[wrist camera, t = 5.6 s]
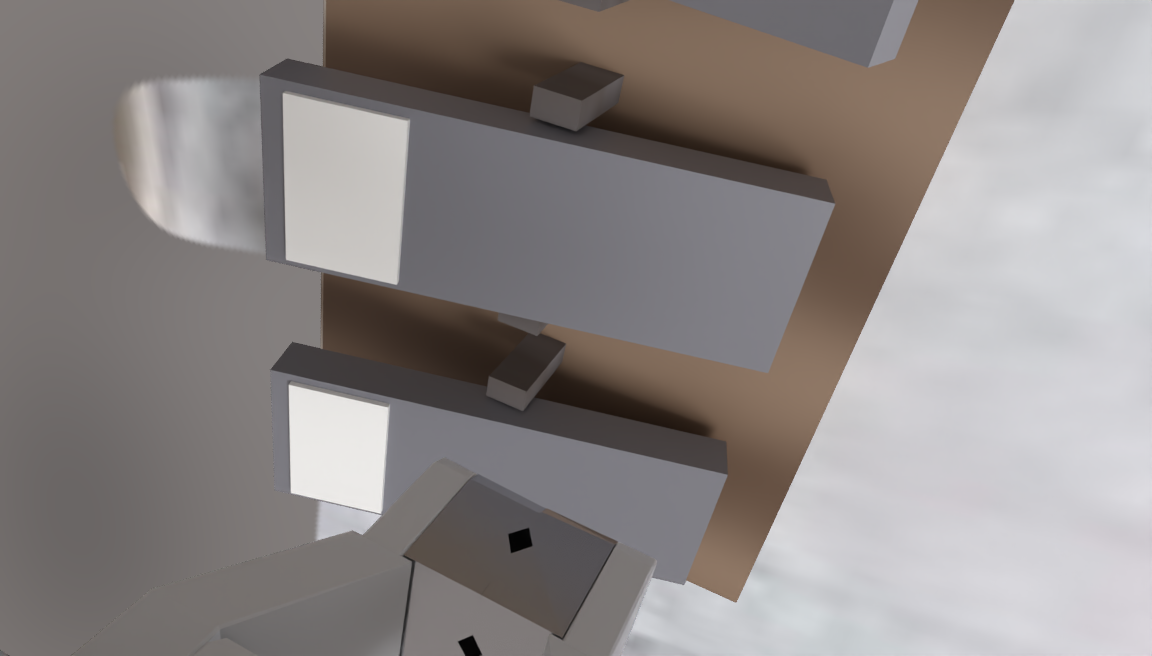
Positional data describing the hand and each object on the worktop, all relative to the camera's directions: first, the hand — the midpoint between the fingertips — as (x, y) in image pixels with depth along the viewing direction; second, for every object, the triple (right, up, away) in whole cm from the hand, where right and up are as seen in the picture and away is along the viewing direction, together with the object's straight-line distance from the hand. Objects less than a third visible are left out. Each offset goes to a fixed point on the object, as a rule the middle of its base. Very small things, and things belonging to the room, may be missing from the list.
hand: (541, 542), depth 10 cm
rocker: (-2, -1, +10) cm, 10 cm away
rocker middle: (0, +5, +6) cm, 8 cm away
